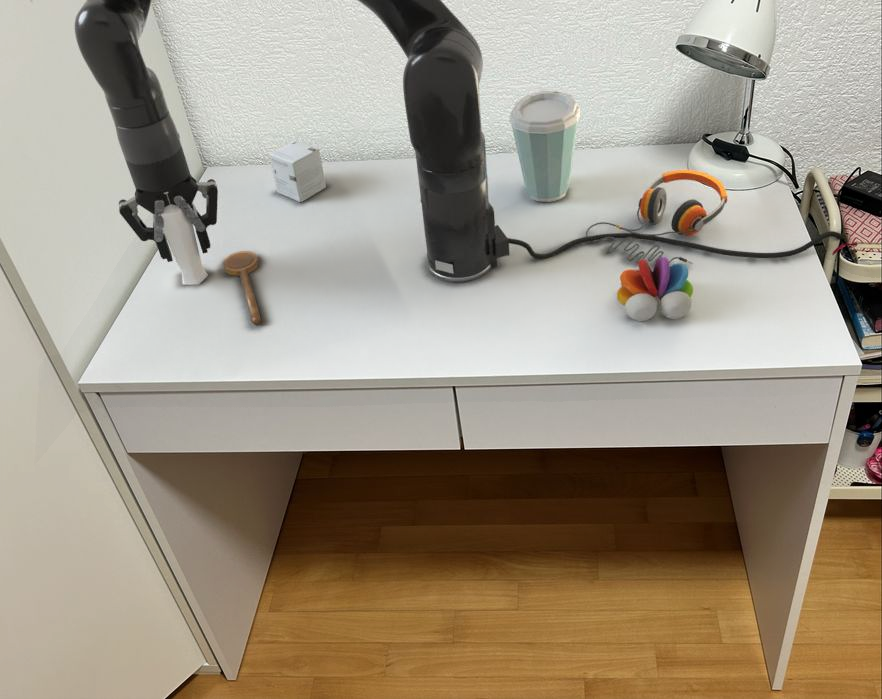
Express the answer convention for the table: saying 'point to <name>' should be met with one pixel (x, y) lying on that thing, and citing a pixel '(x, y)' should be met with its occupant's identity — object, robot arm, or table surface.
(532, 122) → the disposable coffee cup
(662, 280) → the rainbow petal fan toy
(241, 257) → the wooden spoon
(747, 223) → the table surface
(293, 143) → the product carton
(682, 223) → the headphones
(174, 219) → the perfume bottle
